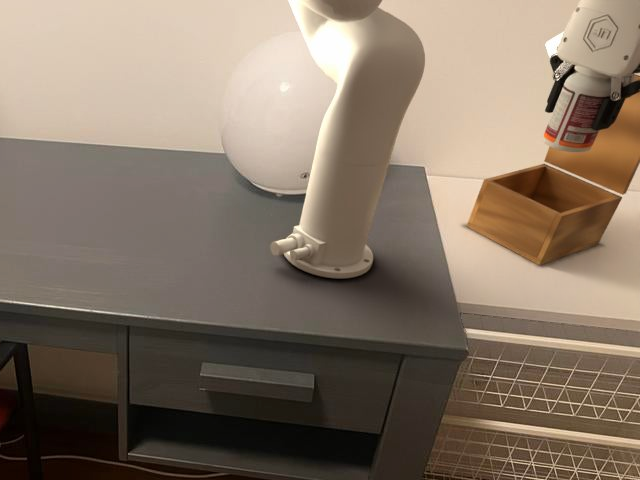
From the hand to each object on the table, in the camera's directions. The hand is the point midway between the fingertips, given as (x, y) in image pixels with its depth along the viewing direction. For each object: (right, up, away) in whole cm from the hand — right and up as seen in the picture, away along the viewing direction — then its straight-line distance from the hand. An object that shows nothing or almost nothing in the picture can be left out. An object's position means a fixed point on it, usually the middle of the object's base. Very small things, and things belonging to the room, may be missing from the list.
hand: (576, 118), depth 98 cm
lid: (+9, +2, +9) cm, 13 cm away
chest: (+3, -12, +17) cm, 21 cm away
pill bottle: (0, -3, +2) cm, 4 cm away
